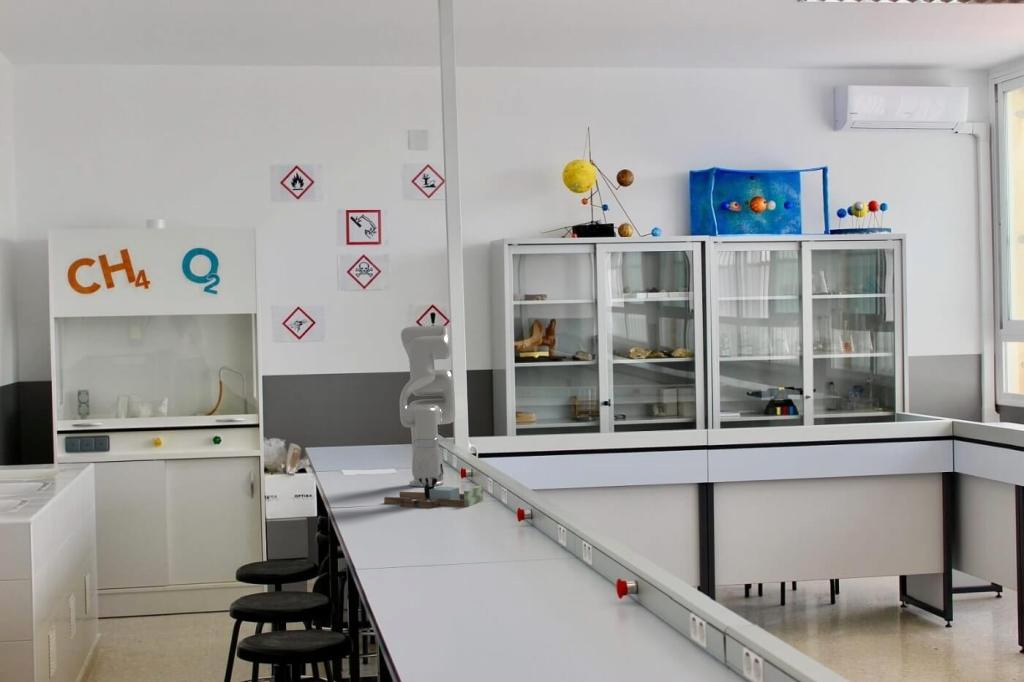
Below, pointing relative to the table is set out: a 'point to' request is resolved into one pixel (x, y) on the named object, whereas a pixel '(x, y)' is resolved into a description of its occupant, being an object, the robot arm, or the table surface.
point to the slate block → (444, 493)
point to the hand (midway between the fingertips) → (429, 497)
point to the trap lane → (465, 500)
